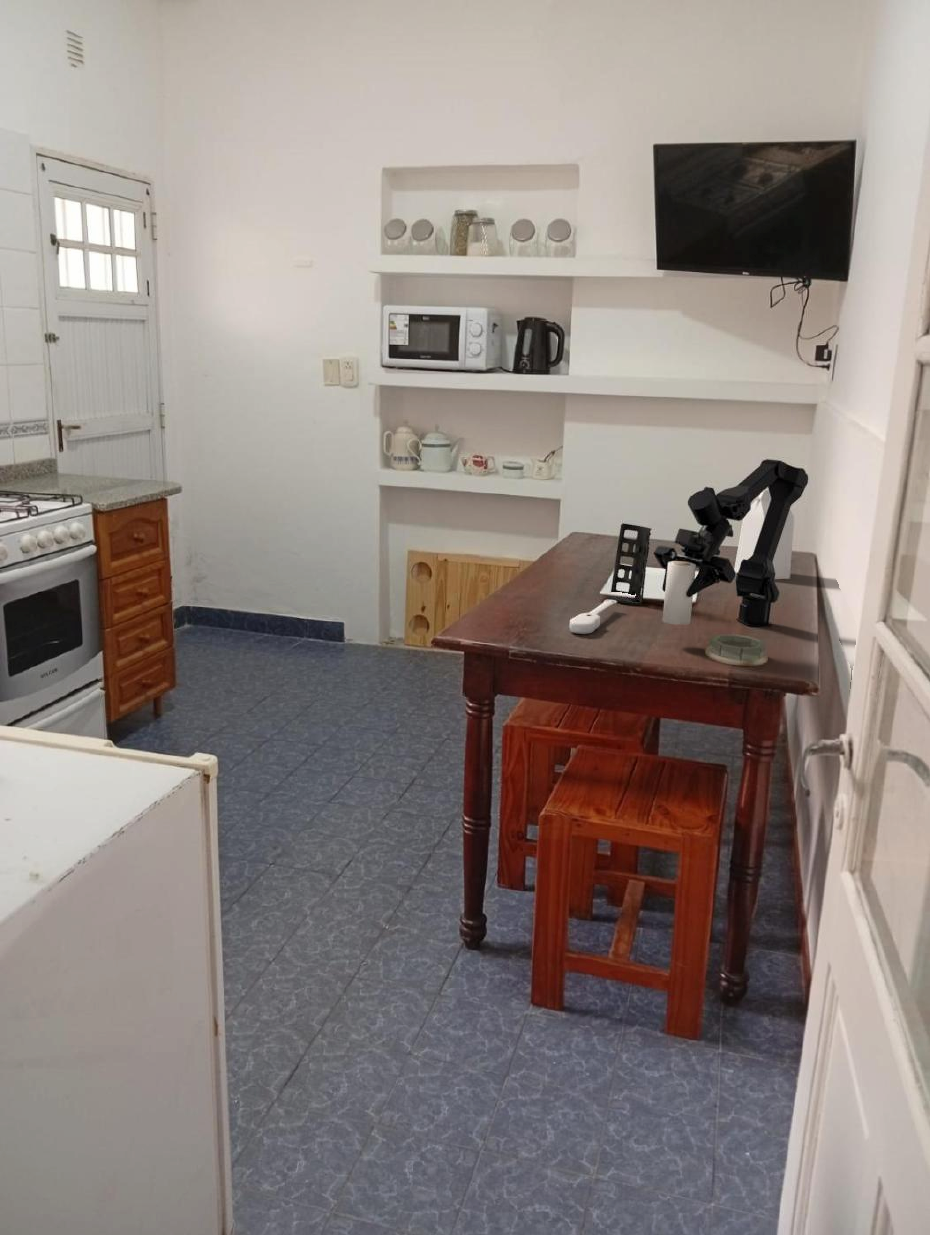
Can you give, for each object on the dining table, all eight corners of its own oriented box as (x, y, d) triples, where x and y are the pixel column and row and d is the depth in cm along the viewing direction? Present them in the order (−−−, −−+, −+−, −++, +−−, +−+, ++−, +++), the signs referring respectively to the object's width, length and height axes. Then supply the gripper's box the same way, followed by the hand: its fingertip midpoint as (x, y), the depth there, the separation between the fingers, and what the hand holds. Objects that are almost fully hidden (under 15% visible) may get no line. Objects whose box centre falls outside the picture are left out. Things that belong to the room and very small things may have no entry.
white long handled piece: (600, 609, 250) (601, 598, 250) (622, 612, 248) (623, 601, 247) (564, 633, 226) (565, 621, 225) (588, 637, 223) (589, 625, 223)
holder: (600, 598, 261) (612, 522, 257) (616, 596, 266) (628, 523, 262) (636, 606, 253) (648, 529, 250) (652, 605, 259) (664, 529, 255)
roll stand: (746, 647, 221) (748, 632, 220) (779, 664, 209) (781, 648, 208) (694, 649, 218) (695, 634, 217) (724, 667, 206) (726, 651, 205)
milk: (766, 570, 309) (777, 487, 302) (789, 578, 298) (800, 492, 292) (733, 571, 305) (743, 487, 299) (755, 579, 295) (766, 492, 288)
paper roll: (682, 617, 223) (687, 560, 220) (694, 624, 218) (701, 565, 214) (657, 618, 222) (663, 560, 218) (670, 625, 216) (675, 566, 213)
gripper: (662, 509, 223) (627, 563, 219) (734, 521, 210) (698, 578, 205) (679, 541, 230) (646, 593, 226) (750, 554, 217) (716, 610, 213)
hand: (675, 593), depth 217 cm, fingers closed on paper roll, 6 cm apart
